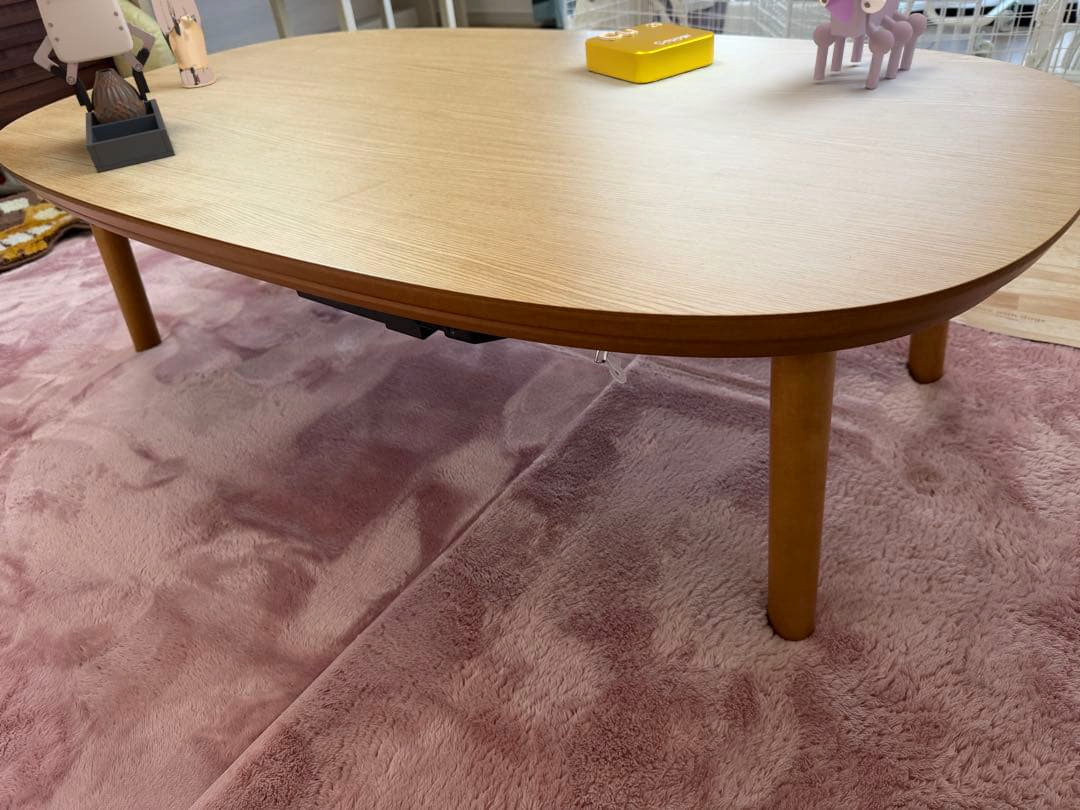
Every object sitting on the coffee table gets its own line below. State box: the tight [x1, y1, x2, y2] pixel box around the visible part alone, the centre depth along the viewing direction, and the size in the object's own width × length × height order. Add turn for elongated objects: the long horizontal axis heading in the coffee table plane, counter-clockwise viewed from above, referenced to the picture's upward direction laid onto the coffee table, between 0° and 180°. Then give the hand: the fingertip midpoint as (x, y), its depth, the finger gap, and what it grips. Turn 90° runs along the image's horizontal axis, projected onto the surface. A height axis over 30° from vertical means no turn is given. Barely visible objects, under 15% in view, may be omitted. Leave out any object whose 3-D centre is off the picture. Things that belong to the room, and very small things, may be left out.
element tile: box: [584, 21, 715, 84], centre depth 123 cm, size 15×15×5 cm
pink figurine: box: [812, 0, 928, 90], centre depth 103 cm, size 20×11×14 cm, turn 135°
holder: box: [85, 98, 176, 173], centre depth 116 cm, size 10×19×4 cm, turn 26°
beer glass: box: [150, 0, 218, 89], centre depth 140 cm, size 7×7×15 cm
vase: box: [90, 68, 147, 125], centre depth 117 cm, size 7×7×9 cm
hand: (117, 103), depth 117 cm, fingers closed on vase, 6 cm apart
